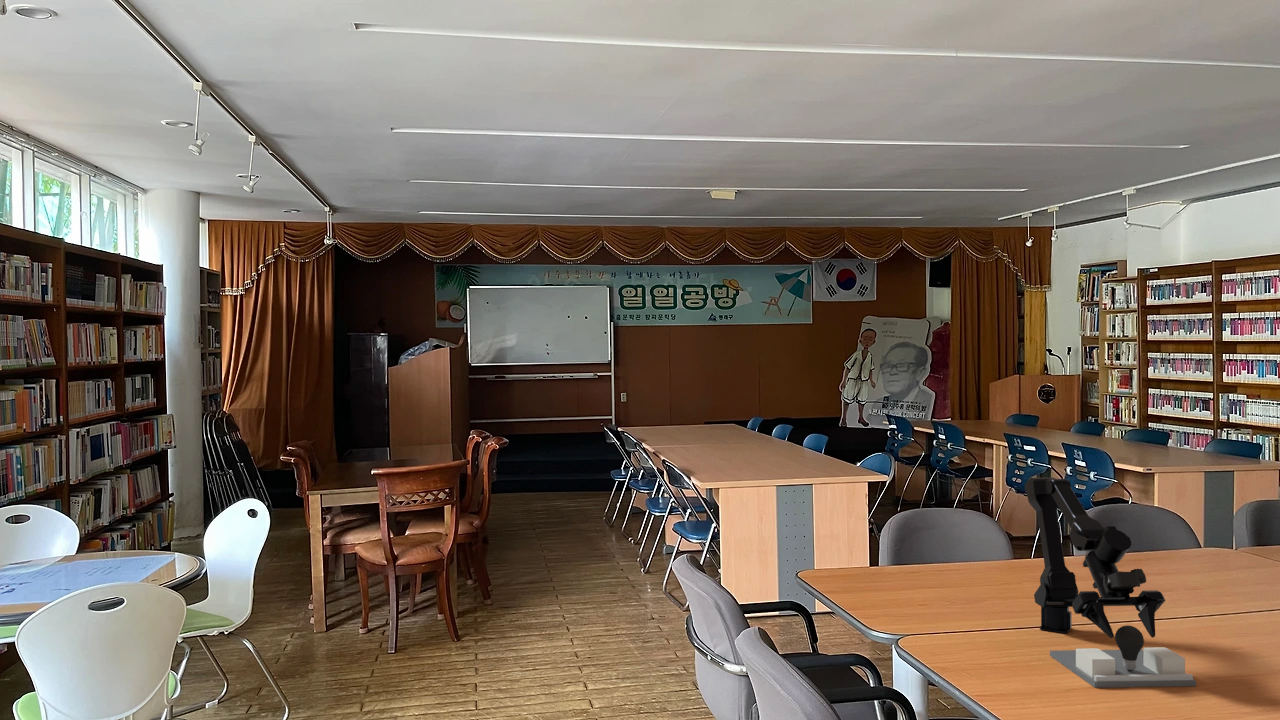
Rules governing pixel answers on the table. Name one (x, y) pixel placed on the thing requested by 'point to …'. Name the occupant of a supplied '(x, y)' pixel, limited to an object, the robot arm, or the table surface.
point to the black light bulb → (1129, 645)
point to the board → (1109, 671)
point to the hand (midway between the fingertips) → (1133, 637)
